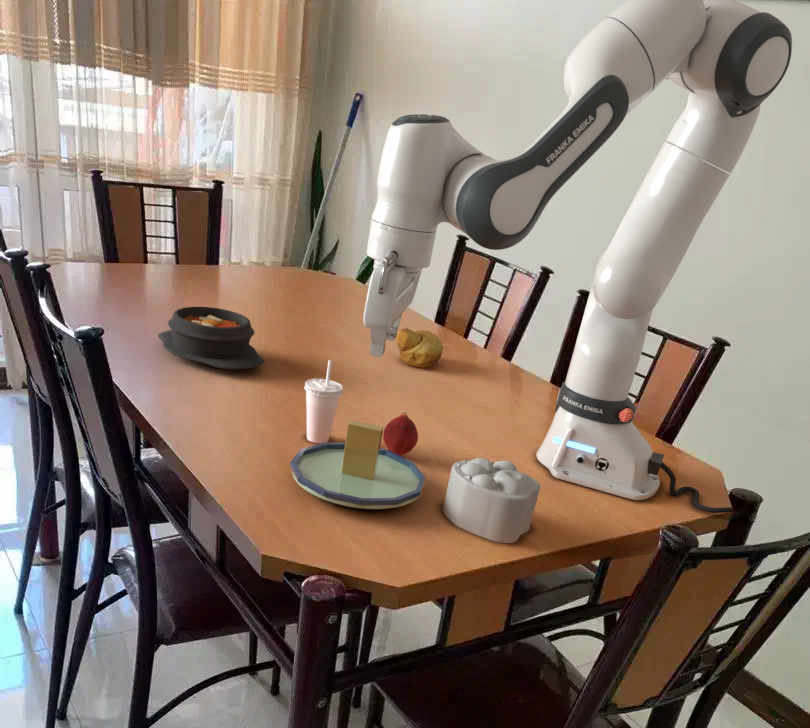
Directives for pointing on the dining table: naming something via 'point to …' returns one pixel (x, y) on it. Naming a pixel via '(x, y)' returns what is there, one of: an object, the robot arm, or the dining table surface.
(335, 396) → the smoothie
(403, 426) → the onion
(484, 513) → the lumpy-topped squat cylinder
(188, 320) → the casserole
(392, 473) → the plate
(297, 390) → the dining table surface
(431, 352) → the bread roll
